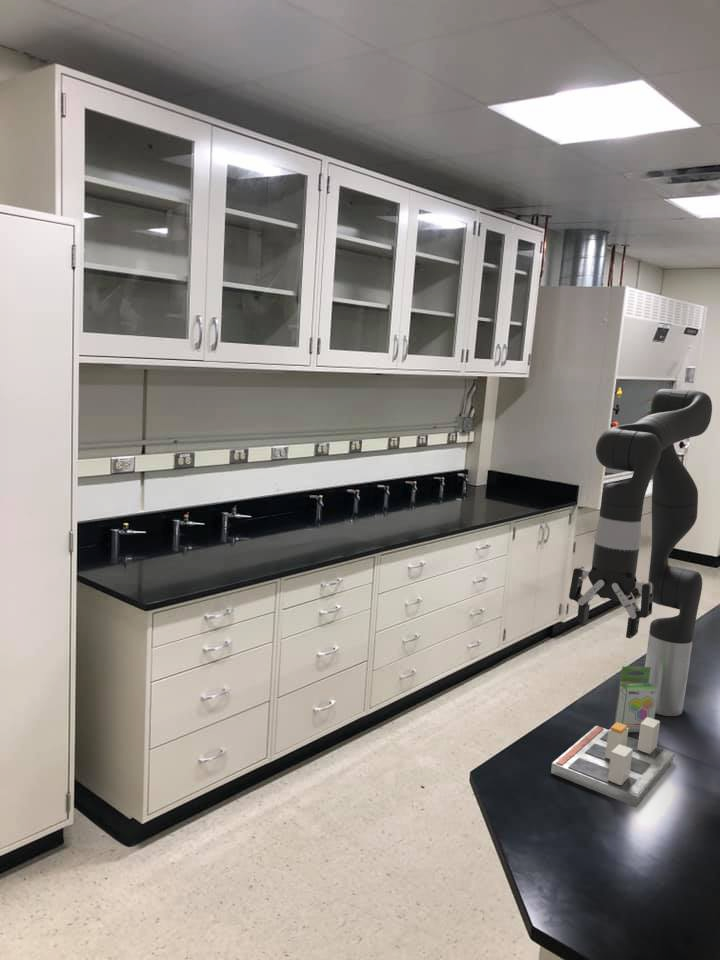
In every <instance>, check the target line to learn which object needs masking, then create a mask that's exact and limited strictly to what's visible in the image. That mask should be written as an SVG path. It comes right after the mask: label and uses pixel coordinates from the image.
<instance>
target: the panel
mask: <svg viewBox="0 0 720 960" xmlns="http://www.w3.org/2000/svg"><path fill="white" fill-rule="evenodd" d="M608 730H609V729H607V728H605V727H601V726H599V725H595V726H593V727H592V728H591V729H590V730H589V731H588V732H587V733H585V735H583V736H582V737H581V738H579V740H577V741H576V742H575V743H574V744H573V745H571V746H570V747H569V748H568V749H567V750H566V751H565V752H563V753H562V754H561V755H560V756H558V757H557V758H556V759H554V761H552V762H551V770H550V774H553V775H555V776H558V777H560V778H562V779H564V780H567V781H570V782H573V783H574V784H578V785H580V786H582V787H585V788H586V789H589V790H593V791H595V792H597V793H600V794H602V795H605V796H607V797H609V798H612V799H614V800H617V801H618V802H622V803H624V804H627V805H629V806H631V807H635V808H637V807H638V806H639V804H640V803H641V802H642V801H643V800H644V798H646V796H647V795H648V793H650V792H651V790H652V788H654V787H655V785H656V784H657V783H658V782H659V781H660V779H661V778H662V777H663V776H664V775H665V773H666V772H667V771H668V770H669V768H670V767H671V766H672V765H673V764H674V759H675V752H673V751H670V750H667V749H664V748H661V747H659V746H657V747H656V748H655V749H654V751H653V752H652V753H651V754H648V753H645V752H642V751H640V750H637V748H638V740H639V739H635V738H633V737H630V736H628V737H627V745H626V747H629V748H631V749H633V751H632V759H631V766H630V774H629V778H628V779H627V780H626V781H625V782H624V783H623V784H622V785H619V784H616V783H614V782H611V781H609V780H608V774H609V766H610V759H608V758H605V753H606V746H607V738H608Z"/></svg>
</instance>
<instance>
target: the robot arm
mask: <svg viewBox="0 0 720 960" xmlns="http://www.w3.org/2000/svg"><path fill="white" fill-rule="evenodd" d="M712 415H713V403H712V399H711V396H710V395H708V394H707V393H706V392H703V391H699V390H689V389H688V390H687V389H676V388H660V389H658V390H657V391H656V392H655V393H654V394H653V397H652V400H651V405H650V414H648V415H646V416H644V417H642V418H640V419H639V420H637V421H635V422H634V423H627V424H622V425H617V426H612V427H610V428H608V429H606V430H605V431H604V432H603V433H602V434H601V435H600V436H599V438H598V440H597V443H596V445H595V456H596V459H597V460H598V462H599V463H600V464H601V465H602V466H603V467H605V468H607V469H610V470H617V471H625V472H630V473H633V474H632V476H631V477H630V479H629V480H628V481H626V482H614V483H613V482H612V483H607V484H605V485H604V486H603V488H602V491H601V499H600V500H601V501H600V508H599V516H598V521H597V524H596V530H595V534H594V547H593V554H592V562H591V563H592V564H591V569H587V568H585V567H584V566H583V565H582V566H577V567H576V568H574V569H573V571H572V577H571V583H570V588H569V593H568V598H569V600H571V601H575V602H577V604H578V608H577V609H578V610H577V617H576V619H577V622H578V623H579V626H582V627H585V626H588V625H587V624H588V623H589V615H590V607H591V605H590V604H589V602H590V601H591V600H593V599H594V598H595V597H596V596H599V598H602V599H609V600H610V601H615V602H619V601H620V604H621V605H622V607H623V608H625V610H626V612H627V613H628V616H629V617H627V618H628V619H627V626H626V633H625V638H627V639H632V638H633V637H635V636H636V635H637V634H638V633H639V626H640V619H641V618H643V619H645V618H647V617H649V616H650V615H652V613H653V603H654V604H656V605H659V606H663V607H668V608H671V609H675V610H679V612H678V613H679V614H677V615H675V616H671V617H660V618H656V619H653V620H652V621H651V622H650V625H649V634H648V640H647V648H646V655H645V656H646V657H645V663H644V667H651V670H650V676H649V683H650V684H652V685H653V686H654V687H655V688H656V689H657V690H658V693H657V700H656V709H655V715H656V714H657V715H661V716H665V717H677V716H680V715H682V714H683V711H684V710H683V709H684V703H685V696H686V689H687V683H688V677H689V676H688V675H689V669H690V662H691V653H692V647H693V641H694V640H693V639H694V633H695V627H696V622H697V614H698V609H699V606H700V600H701V596H702V589H703V578H702V575H701V573H700V572H699V571H697V570H694V569H693V570H692V569H687V568H682V567H677V566H674V565H673V566H672V565H670V564H669V557H670V554H671V552H672V551H673V550H674V548H675V547H676V545H678V543H679V542H680V541H681V540H682V539H683V538H684V537H685V536H686V535H687V534H688V532H690V531H691V529H692V528H694V525H695V523H696V521H697V519H698V509H699V506H698V505H699V491H698V487H697V485H696V483H695V481H694V479H693V477H692V476H691V474H690V473H689V472H690V471H688V470H687V467H685V465H684V463H683V462H682V461H681V459H680V458H679V455H678V453H677V451H676V449H675V444H676V443H679V442H681V441H684V440H687V439H690V438H693V437H698V436H700V435H702V434H704V433H705V432H706V431H707V429H708V427H709V425H710V423H711V420H712ZM651 479H652V484H651V487H652V488H651V548H650V561H649V570H648V580H647V582H644V581H638V580H637V576H636V574H637V568H638V560H639V559H638V558H639V552H640V545H641V535H642V517H643V510H644V509H643V507H644V502H645V497H646V494H647V490H648V487H649V484H650V481H651ZM587 578H588V579H589V581H590V583H591V585H592V586H591V587H590V588H588V590H586V592H585V593H584V594H582V593H581V592H582V587H583V583H584V581H585V580H586V579H587ZM635 589H637V590H638V594H639V595H641V597H640V598H641V599H640V600H641V601H640V607H639V605H638V604H637V600H636V598H635V596H634V595H633V593H632V592H633V591H634V590H635Z"/></svg>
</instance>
